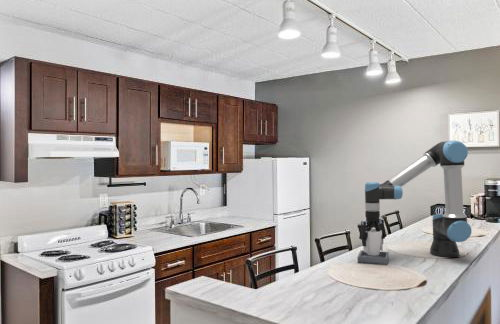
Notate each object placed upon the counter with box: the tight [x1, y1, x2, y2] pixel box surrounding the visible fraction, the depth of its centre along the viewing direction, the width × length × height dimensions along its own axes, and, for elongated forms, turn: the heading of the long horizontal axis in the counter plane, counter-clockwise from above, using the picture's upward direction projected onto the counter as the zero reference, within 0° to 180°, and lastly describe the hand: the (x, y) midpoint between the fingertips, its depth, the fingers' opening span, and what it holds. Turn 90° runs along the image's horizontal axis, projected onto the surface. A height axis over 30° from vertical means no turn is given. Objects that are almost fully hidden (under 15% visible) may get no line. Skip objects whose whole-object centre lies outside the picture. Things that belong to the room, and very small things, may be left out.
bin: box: [357, 249, 390, 266], centre depth 212 cm, size 15×15×4 cm
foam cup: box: [365, 228, 382, 256], centre depth 211 cm, size 10×9×13 cm
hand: (373, 251), depth 212 cm, fingers closed on foam cup, 9 cm apart
